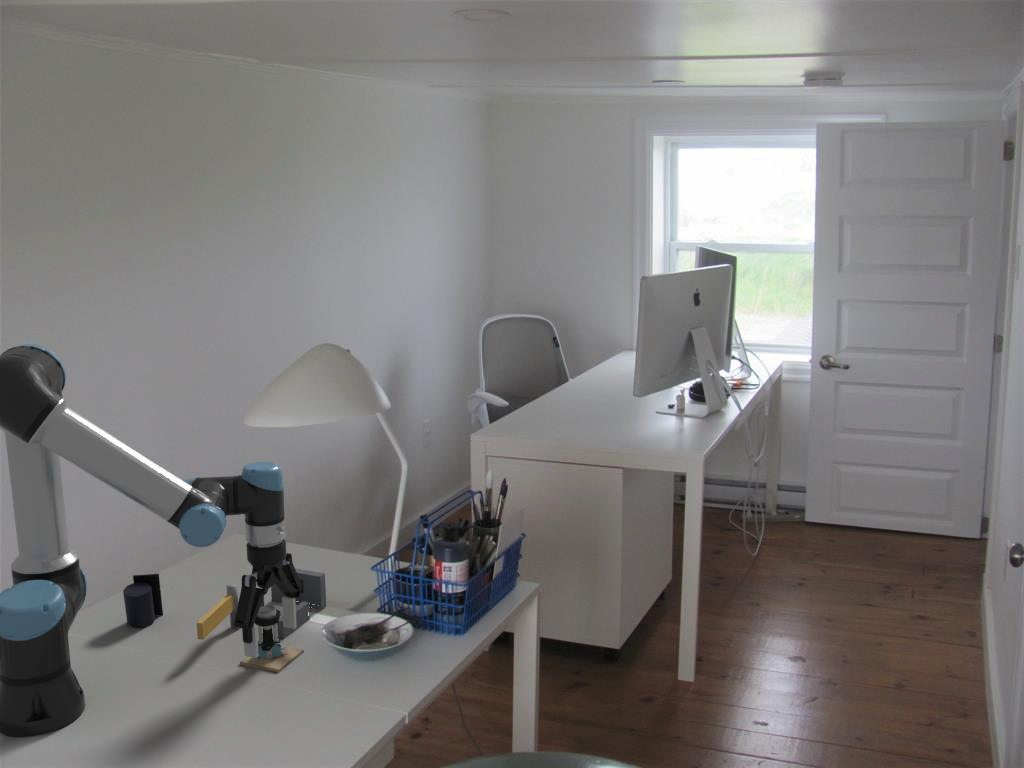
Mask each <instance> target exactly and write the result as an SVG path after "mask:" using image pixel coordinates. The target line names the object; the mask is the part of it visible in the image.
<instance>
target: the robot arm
mask: <svg viewBox="0 0 1024 768" xmlns="http://www.w3.org/2000/svg"><path fill="white" fill-rule="evenodd" d="M66 379H67V373H66V367H65V365H64V364H63V361H62V360H61V359H60V357H59V356H58V355H57V354H56V353H55V352H54V351H53V350H50V349H49V348H46V347H44V346H41V345H37V344H30V343H29V344H21V345H17V346H16V345H15V346H12V347H11V348H8V349H6V350H5V351H3V352H1V354H0V430H1V431H3V432H4V437H5V445H6V446H5V447H6V454H7V461H8V471H9V472H8V473H9V479H10V480H9V481H10V489H11V496H12V497H11V498H12V506H13V507H12V508H13V515H14V516H13V517H14V523H15V524H14V525H15V532H16V541H17V550H18V556H17V557H16V558H14V560H13V561H12V562H11V564H10V569H11V576H12V577H11V578H12V586H11V587H10V588H7V587H6V588H5V589H3V590H2V591H1V592H0V734H2V735H4V736H11V737H32V736H37V735H38V736H39V735H42V734H47V733H50V732H53V731H56V730H59V729H61V728H64V727H65V726H68V725H69V724H72V723H73V722H74V721H75V720H77V719H78V718H79V717H80V716H81V715H82V714H83V713H84V712H85V708H86V700H85V693H84V689H83V688H82V686H81V684H80V682H79V680H78V678H77V677H76V673H75V672H74V670H73V668H72V666H71V665H72V664H71V655H70V644H69V642H70V641H69V631H70V630H71V629H70V628H71V627H72V625H73V623H74V621H75V618H76V617H77V614H78V612H79V611H80V609H81V608H82V606H83V605H84V602H85V601H86V600H85V599H86V596H87V592H88V591H87V589H88V581H87V577H86V574H85V572H84V570H83V567H81V566H80V559H79V558H80V557H79V554H78V553H77V552H76V551H75V550H74V549H72V548H71V547H69V535H68V527H67V515H66V509H65V507H66V506H65V498H64V497H65V496H64V489H63V487H64V486H63V480H62V470H61V460H60V457H62V458H63V459H64V460H66V461H68V462H70V463H71V464H73V465H74V466H76V467H78V468H79V469H81V470H83V472H85V473H87V474H89V475H90V476H92V477H94V478H95V479H97V480H99V481H101V482H102V483H103V484H106V485H107V486H108V487H110V488H111V489H113V490H115V491H117V492H118V493H120V494H122V495H123V496H125V497H126V498H128V499H130V500H131V501H133V502H135V503H136V504H137V505H140V506H142V508H145V509H146V510H148V511H150V512H151V513H153V514H154V515H155V516H157V517H159V518H161V519H162V520H164V521H165V522H167V523H169V524H171V525H172V526H174V527H175V528H177V529H178V530H179V533H180V536H181V537H182V539H183V540H184V541H185V543H187V544H188V545H190V546H192V547H196V548H206V547H210V546H212V545H213V544H215V543H217V542H218V541H219V540H220V538H221V536H222V534H223V532H224V531H225V528H226V526H227V516H239V515H244V528H245V529H244V530H245V532H244V533H245V540H246V542H247V543H246V559H247V562H248V563H249V564H250V565H251V566H252V570H251V574H248V575H247V574H243V575H242V576H241V588H240V592H239V596H238V607H237V612H236V616H235V621H234V627H238V628H240V629H241V632H242V642H243V649H244V650H243V651H244V656H245V657H247V656H248V657H253V658H257V657H259V654H258V641H259V635H258V625H256V624H255V620H256V617H257V614H258V611H259V609H260V606H261V603H262V600H263V597H264V598H265V595H267V594H268V592H269V589H271V586H272V585H274V584H276V585H277V586H278V587H279V589H280V590H281V591H282V592H283V593H284V595H286V596H284V597H282V603H281V605H282V606H281V608H282V610H281V611H282V616H283V627H286V628H291V629H295V628H297V625H296V597H300V595H301V592H298V590H301V589H302V585H301V582H300V580H299V577H298V575H297V572H296V570H295V569H296V568H295V565H294V563H293V555H292V553H289V552H287V541H286V540H285V538H286V526H285V498H284V497H285V496H284V494H285V493H284V492H285V491H284V481H283V471H282V467H281V466H280V465H279V464H278V463H276V462H272V461H256V462H251V463H250V462H249V463H247V464H245V465H244V466H243V468H242V469H241V470H242V471H241V474H239V475H231V476H230V475H228V476H211V477H207V476H206V477H201V476H195V477H193V478H192V477H191V478H184V479H182V478H181V477H180V476H178V475H176V474H174V473H173V472H171V471H170V470H168V469H167V468H165V467H163V466H162V465H160V464H159V463H157V462H155V461H153V460H152V459H150V458H149V457H147V456H146V455H144V454H143V453H142V452H140V451H138V450H136V449H135V448H134V447H132V446H130V445H128V444H127V443H125V442H124V441H122V440H120V439H119V438H118V437H116V436H114V435H113V434H111V433H110V432H108V431H106V430H105V429H104V428H101V427H100V426H98V425H97V424H95V423H93V421H91V420H89V419H88V418H86V417H84V416H83V415H81V414H79V413H78V412H76V411H75V410H73V409H72V408H70V407H69V406H68V405H67V401H66V398H65V397H64V396H63V391H64V388H65V386H66V381H67V380H66ZM249 619H250V621H249Z"/></svg>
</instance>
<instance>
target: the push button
mask: <svg viewBox="0 0 1024 768" xmlns="http://www.w3.org/2000/svg"><path fill="white" fill-rule="evenodd" d="M279 618H281V611H280V610H279V609H277V608H276V607H275V606H273V605H264V606H263V607H260V609H259V611H258V614H257V617H256V620H255V623H254V625H257V636H258V654H259V657H257V659H263V658H267V659H269V658H272V657H278V656H281V653H282V652H287V651H289V649H286V650H287V651H286V650H281V648H286V647H285V646H287V647H290V646H289V644H286V645H283V644H281V642H280V638H278V633H277V623H278V622H279ZM281 645H282V646H281Z"/></svg>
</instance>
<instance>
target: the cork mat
mask: <svg viewBox="0 0 1024 768" xmlns="http://www.w3.org/2000/svg"><path fill="white" fill-rule="evenodd" d="M280 645H281V646H282V645H283V644H280ZM284 646H285V645H284ZM285 647H286V648H281V650H286V649H289V651H287V650H286V651H287V652H282V653H281V656H278V657H272V658H269V659H267V658H263V659H257V658H253V657H248V656H245V657H244V658H242V659H241V660H240V661H239V665H240V666H245V667H251V668H256V669H259V670H266V671H269V672H275V673H280V672H282V670H284V669H285V668H286V667H288V666H289V665H290V664H291V663H292V662H293V661H295V660H296V659H298V657H300V656H301V655H302V654H304V652H305V651H304V648H303V649H302V648H298V647H293V646H289V647H287V646H285Z"/></svg>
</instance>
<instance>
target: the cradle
mask: <svg viewBox="0 0 1024 768" xmlns="http://www.w3.org/2000/svg"><path fill="white" fill-rule="evenodd" d="M295 570H296V572H297V575H298V577H299V580H300V582H301V585H302V589H301V590H298V592H301V595H300V597H296V601H299V602H296V605H297V606H296V625H297V628H295V629H291V628H286V627H283V615H282V616H280V617H279V622H278V623H276V627H277V638H278V639H279V640H280V639H281V640H284V639H286V638H288V636H290V635H291V634H293V633H294V632H295V631H297V630H298V629H299V628H300V627H302V626H303V625H304V624H306V623H307V622H308V621H310V615H309V616H308V612H309V613H310V609H311V607H312V608H314V609H313V610H317V611H323V610H324V609H325V608H327V591H326V589H327V588H326V587H327V586H326V573H325V572H319V571H312V570H306V569H300V568H295ZM270 592H271V602H272V603H277V604H282V597H284V596H286V595H284V593H283V592H282V591H281V590H280V589H279V587H278V586H277V585H276V584H274V585H272V586H271V587H270ZM309 603H310V604H309ZM312 604H315V605H312ZM318 605H319V606H318ZM263 606H265V596H264V597H263V600H262V603H261V606H260V607H263ZM309 607H310V608H309ZM236 612H237V609H235V610H233V611H232V612H231V613H230V614H229V621H230V622H229V623H230V628H231V630H234V631H239V630H240V629H241V628H238V627H234V621H235V616H236ZM249 621H250V619H249Z"/></svg>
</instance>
